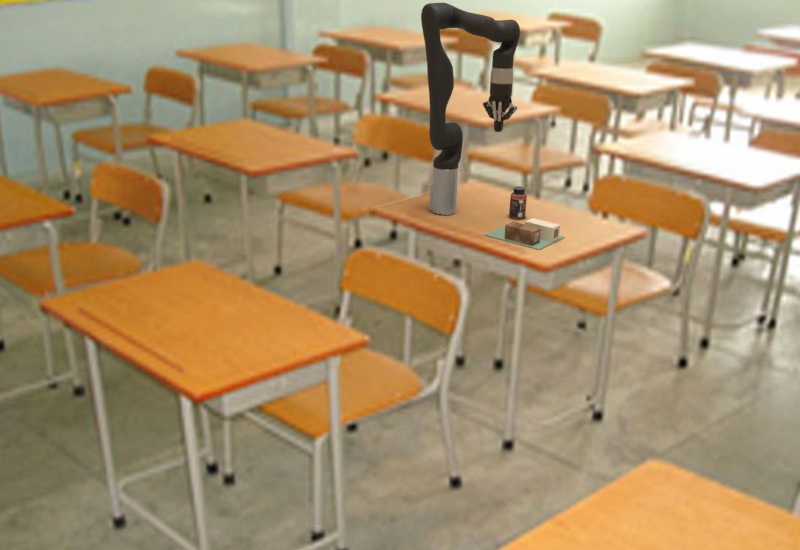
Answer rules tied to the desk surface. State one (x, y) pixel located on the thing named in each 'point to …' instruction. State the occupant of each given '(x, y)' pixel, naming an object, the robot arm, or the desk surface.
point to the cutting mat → (500, 235)
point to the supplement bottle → (518, 203)
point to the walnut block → (522, 233)
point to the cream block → (545, 229)
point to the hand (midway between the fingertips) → (498, 131)
